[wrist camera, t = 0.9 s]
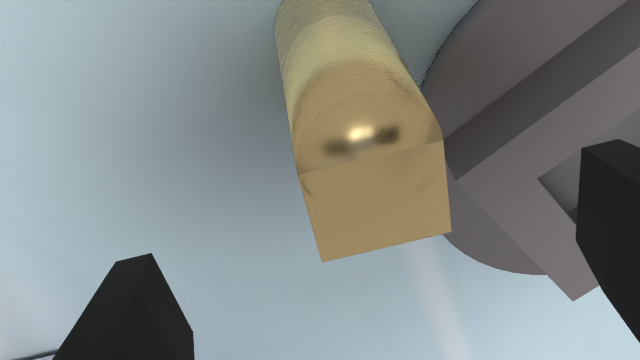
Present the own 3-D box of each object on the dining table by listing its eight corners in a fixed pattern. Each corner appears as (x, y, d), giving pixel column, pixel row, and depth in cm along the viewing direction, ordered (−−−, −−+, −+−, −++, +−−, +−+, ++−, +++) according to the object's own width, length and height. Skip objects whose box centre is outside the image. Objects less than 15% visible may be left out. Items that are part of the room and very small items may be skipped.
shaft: (386, 91, 19) (451, 233, 13) (295, 113, 19) (322, 263, 13) (366, -34, 17) (436, 73, 11) (263, -9, 17) (280, 111, 11)
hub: (525, 303, 26) (555, 359, 23) (332, 120, 19) (346, 172, 17) (824, 117, 22) (899, 162, 19) (708, -193, 15) (797, -183, 13)
